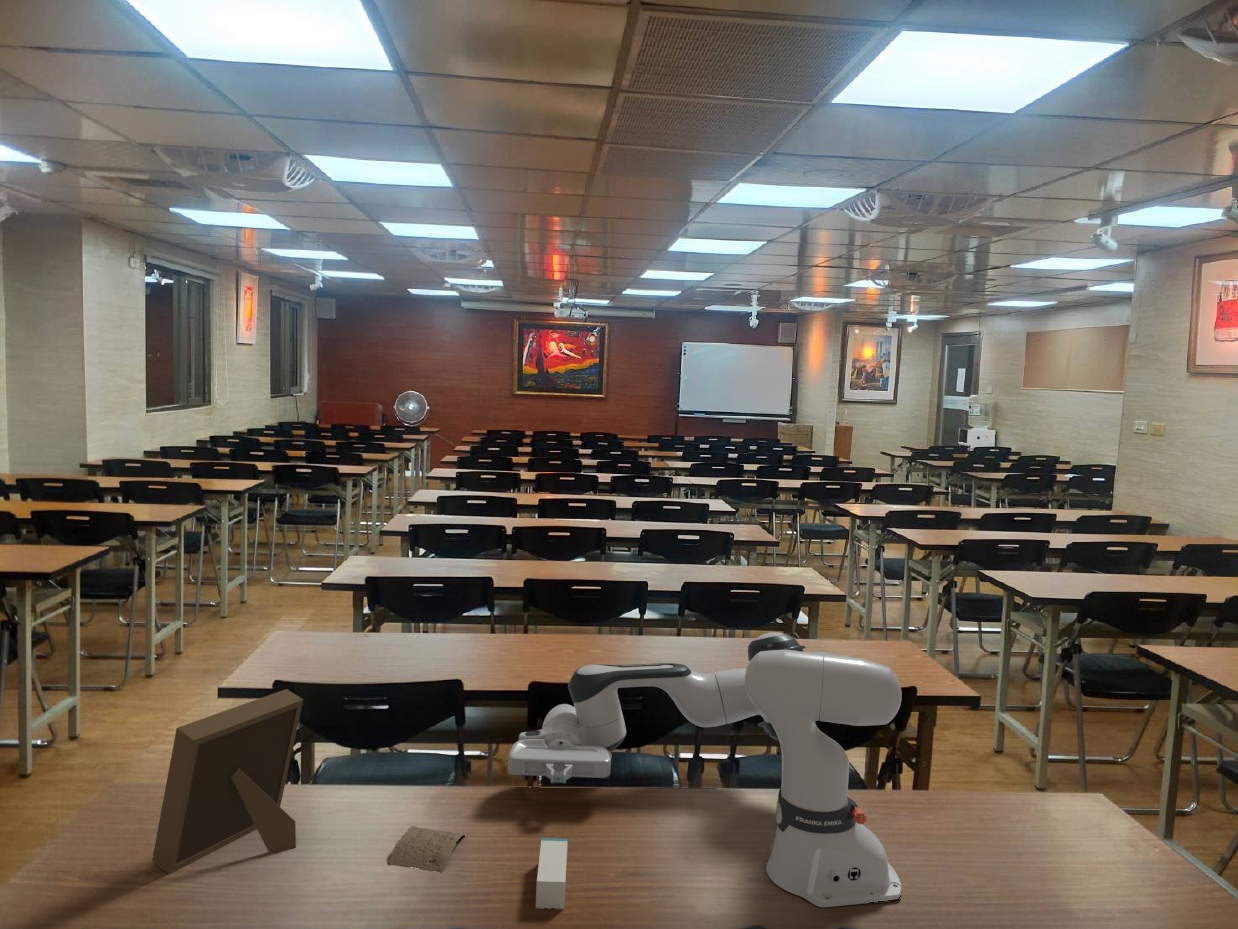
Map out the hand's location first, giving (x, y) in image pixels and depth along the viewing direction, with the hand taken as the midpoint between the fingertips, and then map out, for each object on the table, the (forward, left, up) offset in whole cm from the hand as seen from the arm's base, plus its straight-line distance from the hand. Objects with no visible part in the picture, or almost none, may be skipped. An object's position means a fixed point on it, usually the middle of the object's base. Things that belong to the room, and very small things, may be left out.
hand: (558, 779), depth 163 cm
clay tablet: (+22, +12, -8) cm, 27 cm away
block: (0, +15, -5) cm, 16 cm away
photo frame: (+54, +14, -8) cm, 56 cm away
